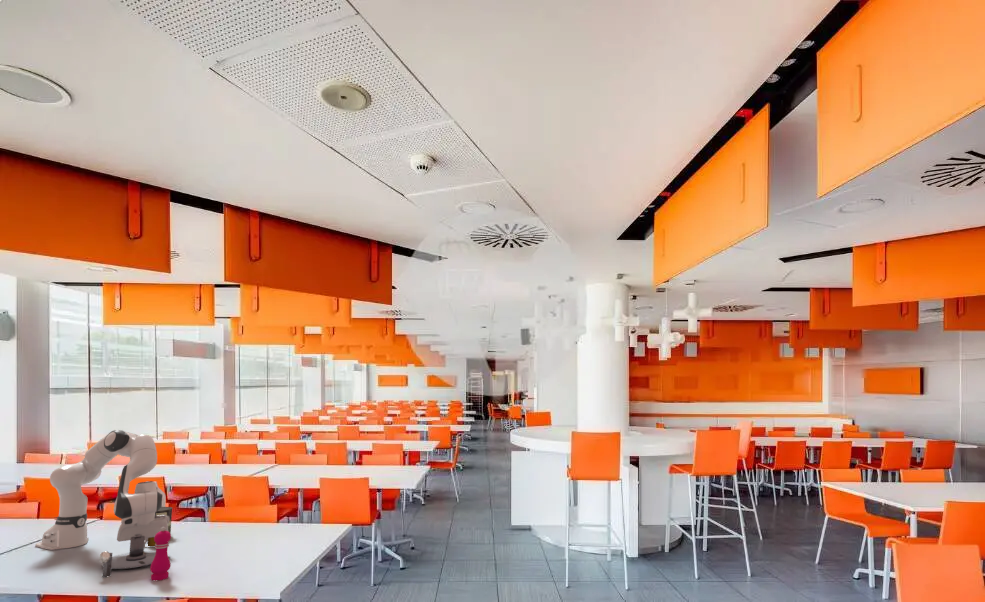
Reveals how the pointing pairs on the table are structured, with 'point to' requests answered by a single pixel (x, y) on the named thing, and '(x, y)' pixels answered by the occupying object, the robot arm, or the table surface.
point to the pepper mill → (161, 556)
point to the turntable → (122, 563)
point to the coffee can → (166, 512)
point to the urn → (136, 548)
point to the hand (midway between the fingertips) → (142, 548)
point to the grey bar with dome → (106, 563)
